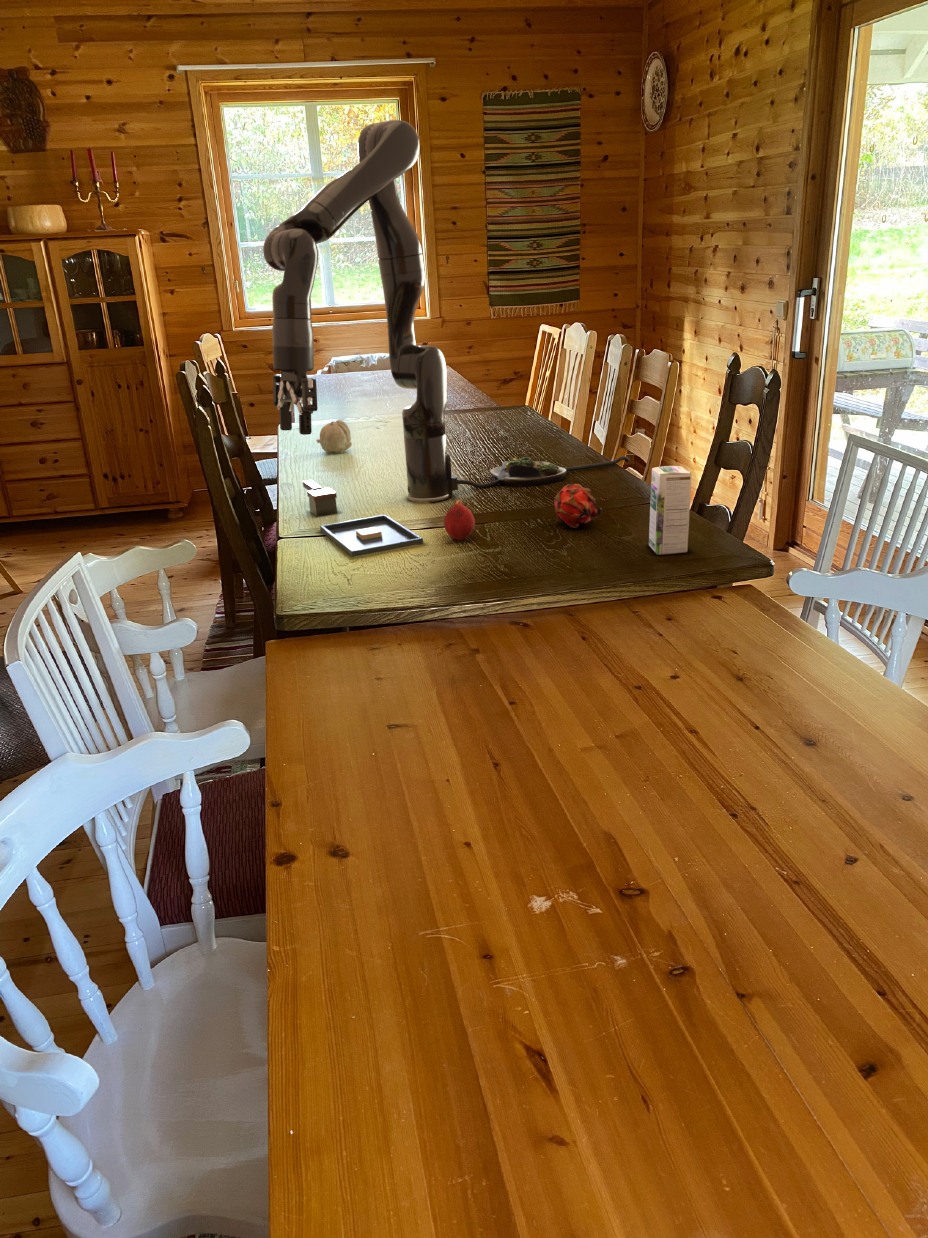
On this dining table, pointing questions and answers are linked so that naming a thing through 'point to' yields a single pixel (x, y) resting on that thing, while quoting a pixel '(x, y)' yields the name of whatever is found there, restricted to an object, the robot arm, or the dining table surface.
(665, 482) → the syrup box
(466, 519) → the onion
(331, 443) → the garlic bulb
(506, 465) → the salad plate
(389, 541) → the tray
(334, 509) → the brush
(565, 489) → the dragon fruit
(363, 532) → the tan flat square block
